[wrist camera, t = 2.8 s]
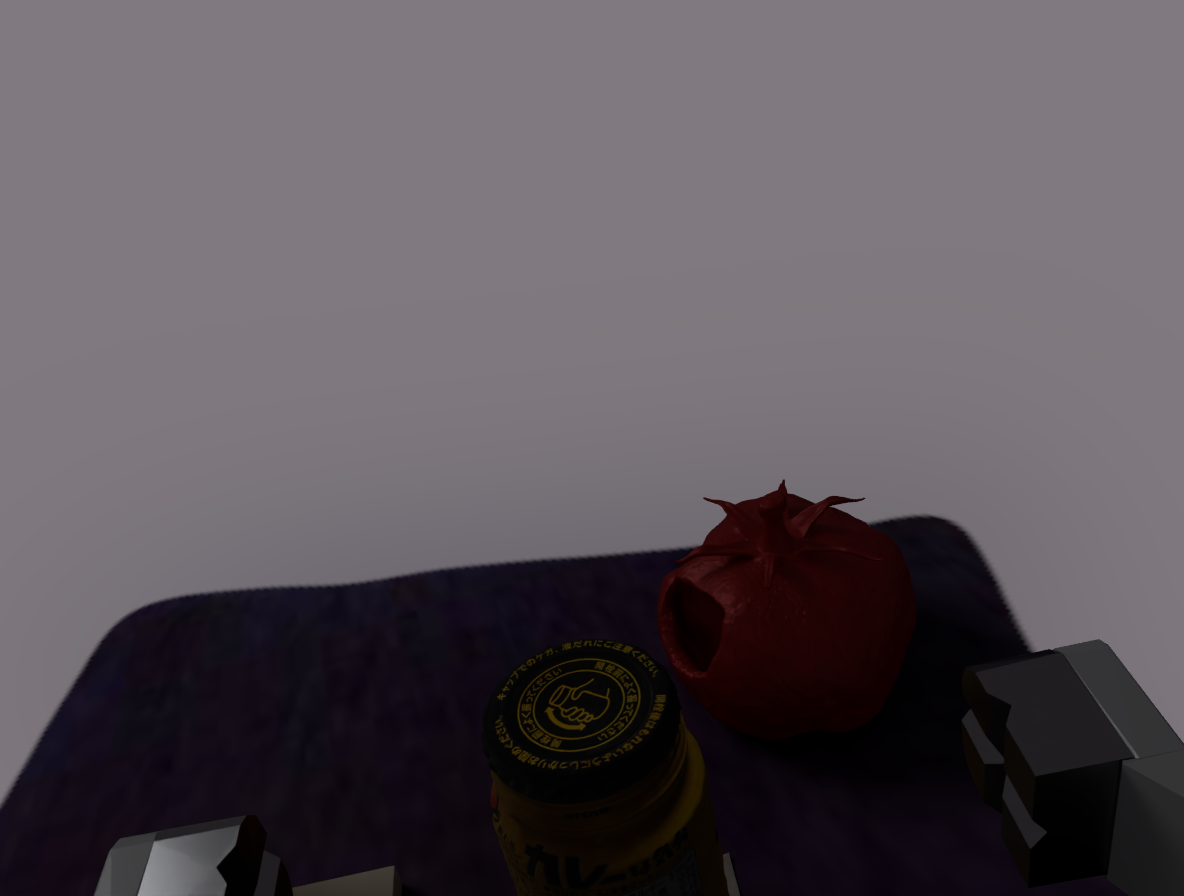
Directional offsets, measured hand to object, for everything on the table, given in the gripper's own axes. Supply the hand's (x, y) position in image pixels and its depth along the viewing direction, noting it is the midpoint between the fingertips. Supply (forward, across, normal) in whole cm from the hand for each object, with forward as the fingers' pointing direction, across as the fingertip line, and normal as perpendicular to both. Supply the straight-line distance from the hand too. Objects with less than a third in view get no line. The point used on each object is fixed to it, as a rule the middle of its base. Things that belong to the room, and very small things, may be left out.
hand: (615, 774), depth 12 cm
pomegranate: (+23, +6, -23) cm, 33 cm away
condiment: (+10, -2, -22) cm, 25 cm away
